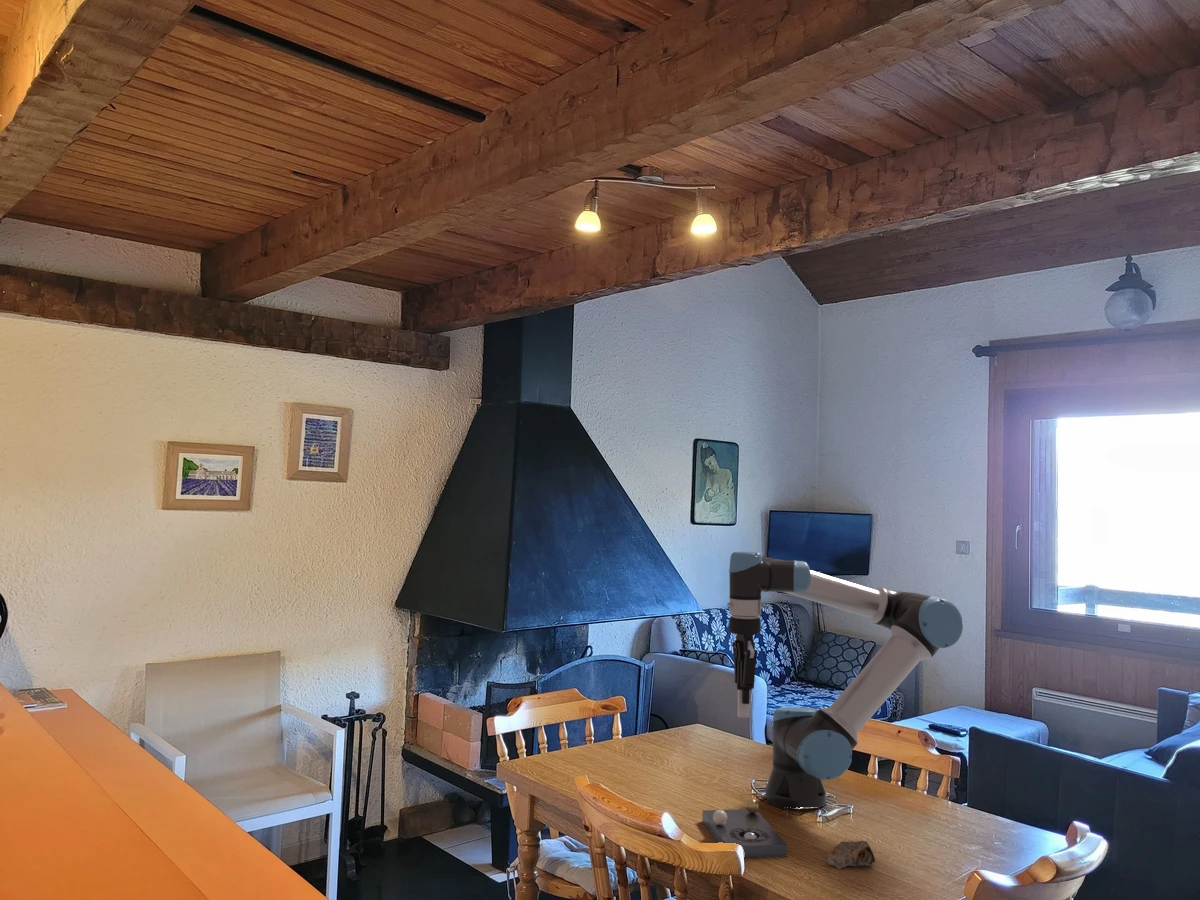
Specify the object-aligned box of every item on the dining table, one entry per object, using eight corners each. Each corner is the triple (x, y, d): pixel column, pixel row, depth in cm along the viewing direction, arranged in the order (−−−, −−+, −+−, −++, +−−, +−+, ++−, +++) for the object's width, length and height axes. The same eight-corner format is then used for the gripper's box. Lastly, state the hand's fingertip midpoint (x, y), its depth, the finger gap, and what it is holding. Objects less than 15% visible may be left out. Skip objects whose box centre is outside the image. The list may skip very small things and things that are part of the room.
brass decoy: (756, 810, 209) (756, 796, 210) (760, 815, 206) (760, 801, 206) (743, 810, 209) (743, 796, 209) (747, 815, 206) (747, 801, 206)
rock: (868, 856, 190) (821, 844, 191) (875, 832, 189) (828, 821, 190) (874, 883, 182) (825, 871, 183) (881, 858, 180) (832, 846, 181)
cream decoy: (725, 822, 201) (725, 807, 201) (728, 827, 198) (729, 812, 198) (711, 822, 201) (711, 807, 201) (714, 827, 198) (715, 812, 198)
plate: (702, 821, 208) (702, 810, 209) (755, 819, 210) (755, 809, 210) (727, 858, 187) (727, 846, 187) (786, 856, 188) (787, 844, 188)
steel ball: (752, 831, 196) (762, 837, 193) (746, 845, 195) (757, 852, 192) (743, 827, 194) (753, 834, 191) (737, 842, 193) (748, 848, 191)
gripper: (722, 613, 218) (721, 710, 216) (737, 620, 205) (736, 723, 203) (752, 613, 219) (751, 710, 217) (768, 620, 206) (767, 723, 204)
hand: (743, 716), depth 210 cm, fingers closed
